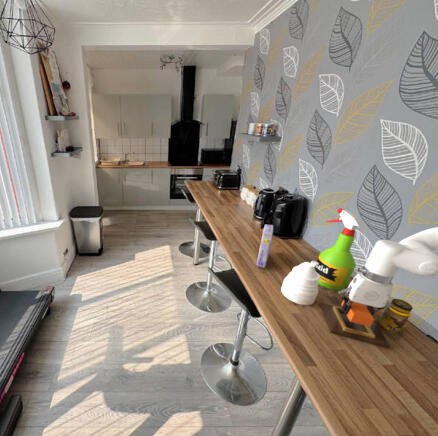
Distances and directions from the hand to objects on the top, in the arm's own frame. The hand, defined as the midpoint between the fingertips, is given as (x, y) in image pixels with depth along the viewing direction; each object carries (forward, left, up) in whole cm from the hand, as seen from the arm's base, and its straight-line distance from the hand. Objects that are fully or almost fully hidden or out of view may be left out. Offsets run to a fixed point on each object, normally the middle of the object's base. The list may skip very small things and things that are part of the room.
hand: (355, 313), depth 87 cm
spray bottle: (+1, -30, -5) cm, 31 cm away
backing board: (0, 0, -5) cm, 5 cm away
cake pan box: (+29, -36, -5) cm, 46 cm away
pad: (0, 0, -1) cm, 1 cm away
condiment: (-13, -5, -6) cm, 15 cm away
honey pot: (+16, -11, -5) cm, 20 cm away
